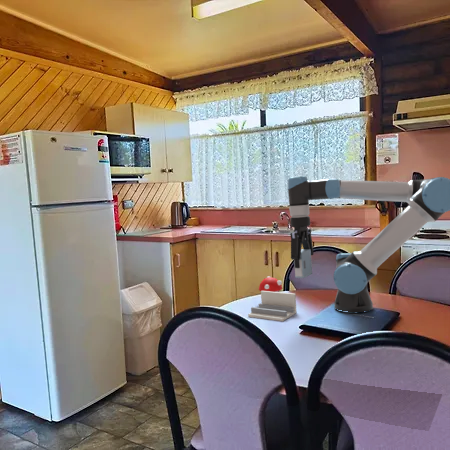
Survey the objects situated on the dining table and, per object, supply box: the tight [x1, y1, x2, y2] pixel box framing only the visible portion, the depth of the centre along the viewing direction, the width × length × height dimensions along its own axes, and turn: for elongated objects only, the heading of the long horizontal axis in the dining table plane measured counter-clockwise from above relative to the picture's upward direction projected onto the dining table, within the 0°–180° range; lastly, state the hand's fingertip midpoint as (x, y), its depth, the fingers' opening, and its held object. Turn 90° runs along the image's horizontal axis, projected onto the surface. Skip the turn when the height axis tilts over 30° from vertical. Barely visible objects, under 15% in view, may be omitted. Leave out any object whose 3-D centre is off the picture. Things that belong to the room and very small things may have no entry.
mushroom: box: [258, 276, 283, 292], centre depth 189 cm, size 11×11×12 cm
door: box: [293, 248, 313, 279], centre depth 163 cm, size 8×4×10 cm, turn 144°
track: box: [247, 291, 298, 322], centre depth 171 cm, size 16×12×8 cm
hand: (303, 273), depth 164 cm, fingers closed on door, 8 cm apart
